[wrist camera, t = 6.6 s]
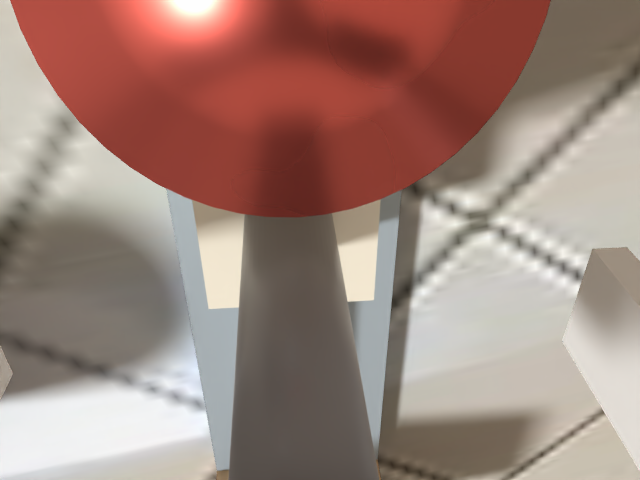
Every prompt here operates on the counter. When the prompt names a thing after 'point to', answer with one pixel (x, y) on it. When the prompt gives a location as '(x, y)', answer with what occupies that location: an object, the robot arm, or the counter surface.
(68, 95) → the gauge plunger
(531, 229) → the counter surface
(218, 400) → the rail
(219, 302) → the carriage
